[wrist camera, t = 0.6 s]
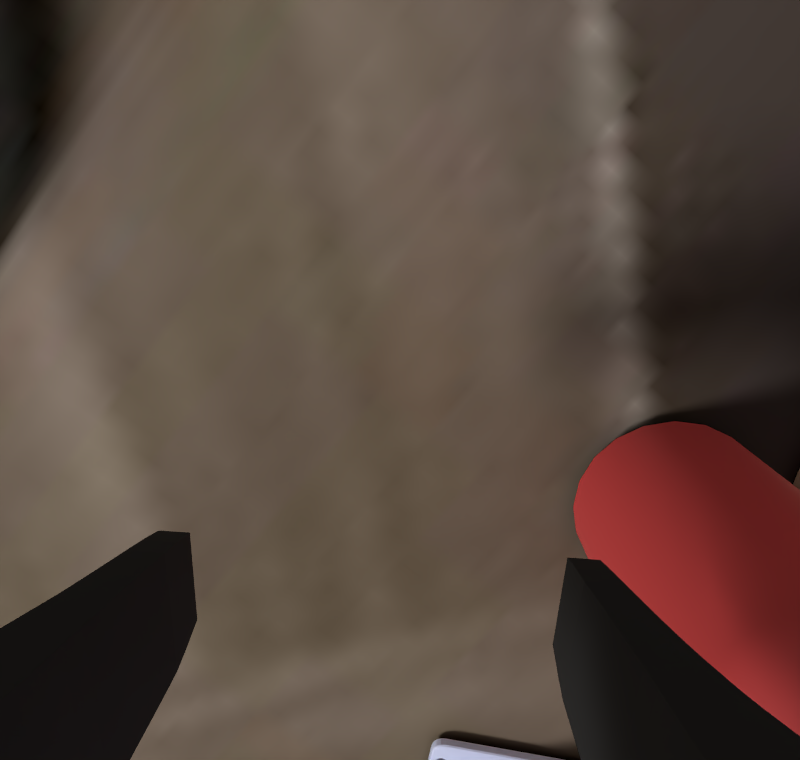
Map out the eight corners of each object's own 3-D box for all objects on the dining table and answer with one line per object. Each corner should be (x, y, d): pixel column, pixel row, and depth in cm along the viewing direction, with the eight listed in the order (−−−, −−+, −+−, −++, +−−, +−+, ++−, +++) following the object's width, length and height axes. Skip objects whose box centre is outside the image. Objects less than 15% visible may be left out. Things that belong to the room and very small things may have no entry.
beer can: (693, 378, 20) (1066, 625, 8) (783, 513, 21) (1211, 886, 9) (534, 481, 21) (660, 812, 10) (628, 600, 22) (837, 1016, 11)
